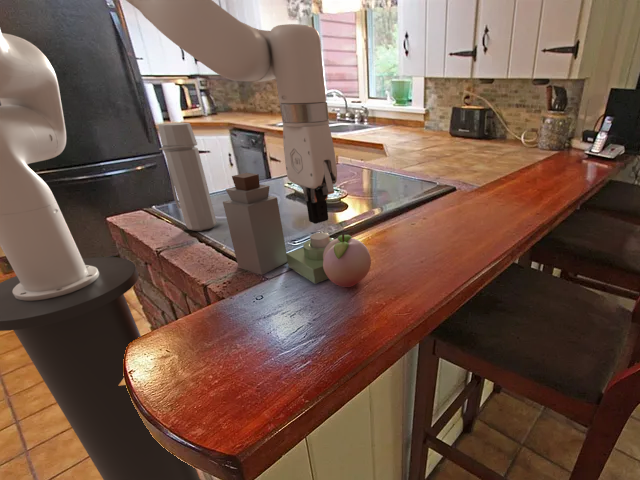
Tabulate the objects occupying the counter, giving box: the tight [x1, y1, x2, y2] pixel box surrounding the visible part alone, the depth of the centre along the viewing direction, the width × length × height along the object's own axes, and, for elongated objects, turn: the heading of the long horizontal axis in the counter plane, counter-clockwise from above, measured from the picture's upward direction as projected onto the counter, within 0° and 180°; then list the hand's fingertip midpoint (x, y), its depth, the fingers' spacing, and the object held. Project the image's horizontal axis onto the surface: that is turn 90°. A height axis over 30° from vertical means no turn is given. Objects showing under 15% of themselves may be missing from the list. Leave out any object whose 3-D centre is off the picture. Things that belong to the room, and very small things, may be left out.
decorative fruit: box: [323, 233, 372, 288], centre depth 63 cm, size 9×8×10 cm
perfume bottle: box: [222, 172, 288, 276], centre depth 69 cm, size 7×7×18 cm
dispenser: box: [286, 237, 336, 285], centre depth 71 cm, size 10×10×5 cm
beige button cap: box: [309, 232, 331, 248], centre depth 69 cm, size 4×4×2 cm
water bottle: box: [157, 122, 218, 232], centre depth 88 cm, size 9×8×25 cm
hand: (319, 220), depth 68 cm, fingers closed
